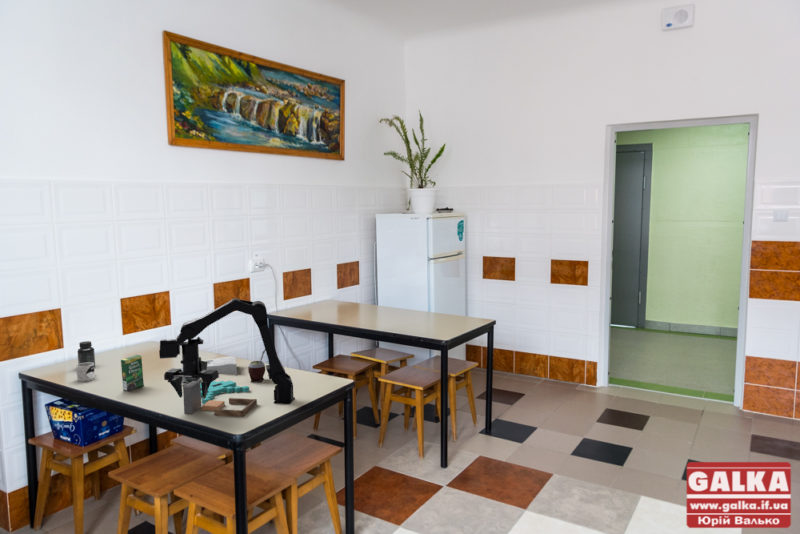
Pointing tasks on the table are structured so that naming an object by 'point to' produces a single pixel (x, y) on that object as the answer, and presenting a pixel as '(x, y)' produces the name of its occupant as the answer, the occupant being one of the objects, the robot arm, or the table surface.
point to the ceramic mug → (188, 379)
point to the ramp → (223, 365)
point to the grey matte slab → (192, 397)
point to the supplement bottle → (86, 353)
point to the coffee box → (132, 373)
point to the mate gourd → (257, 370)
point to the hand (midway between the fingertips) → (192, 397)
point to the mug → (85, 372)
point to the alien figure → (222, 389)
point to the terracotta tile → (213, 405)
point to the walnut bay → (241, 413)
